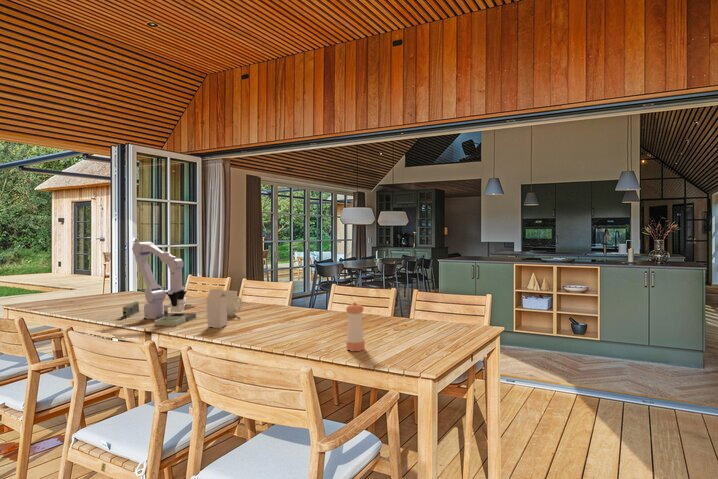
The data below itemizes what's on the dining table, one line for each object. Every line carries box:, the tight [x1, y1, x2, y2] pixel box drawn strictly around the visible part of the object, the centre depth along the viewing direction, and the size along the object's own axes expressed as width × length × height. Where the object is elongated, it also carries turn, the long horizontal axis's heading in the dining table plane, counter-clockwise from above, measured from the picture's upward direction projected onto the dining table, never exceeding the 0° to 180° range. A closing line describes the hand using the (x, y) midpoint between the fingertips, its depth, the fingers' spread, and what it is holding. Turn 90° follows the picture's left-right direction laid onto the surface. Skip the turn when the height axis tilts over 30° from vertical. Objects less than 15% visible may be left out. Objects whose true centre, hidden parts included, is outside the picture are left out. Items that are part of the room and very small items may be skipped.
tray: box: [153, 317, 187, 326], centre depth 243 cm, size 12×10×3 cm
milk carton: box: [206, 288, 228, 329], centre depth 235 cm, size 7×7×19 cm
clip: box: [163, 300, 186, 315], centre depth 262 cm, size 16×2×5 cm, turn 158°
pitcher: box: [223, 289, 243, 317], centre depth 264 cm, size 11×18×14 cm, turn 62°
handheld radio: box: [119, 300, 140, 319], centre depth 269 cm, size 7×3×25 cm
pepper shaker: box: [345, 302, 366, 352], centre depth 187 cm, size 7×7×19 cm
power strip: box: [155, 311, 197, 322], centre depth 255 cm, size 18×10×3 cm, turn 83°
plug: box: [169, 299, 186, 313], centre depth 255 cm, size 6×6×6 cm
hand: (177, 305), depth 255 cm, fingers closed on plug, 6 cm apart
